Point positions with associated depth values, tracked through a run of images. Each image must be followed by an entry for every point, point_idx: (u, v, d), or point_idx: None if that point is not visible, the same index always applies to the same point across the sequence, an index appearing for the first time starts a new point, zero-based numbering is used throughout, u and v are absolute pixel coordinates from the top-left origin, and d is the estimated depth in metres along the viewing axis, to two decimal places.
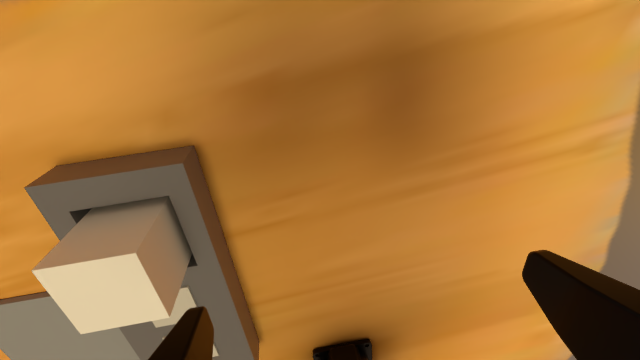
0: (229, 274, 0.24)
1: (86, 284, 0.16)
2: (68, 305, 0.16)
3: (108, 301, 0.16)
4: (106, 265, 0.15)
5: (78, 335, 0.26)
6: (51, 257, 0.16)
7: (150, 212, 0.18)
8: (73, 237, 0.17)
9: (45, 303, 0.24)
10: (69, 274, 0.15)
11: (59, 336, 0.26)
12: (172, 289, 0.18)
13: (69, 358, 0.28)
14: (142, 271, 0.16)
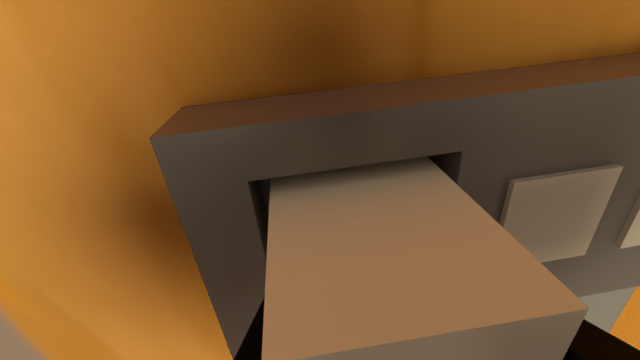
0: (526, 78, 0.09)
1: None
2: None
3: None
4: None
5: None
6: None
7: None
8: None
9: None
10: None
11: None
12: (485, 252, 0.06)
13: None
14: (347, 355, 0.04)
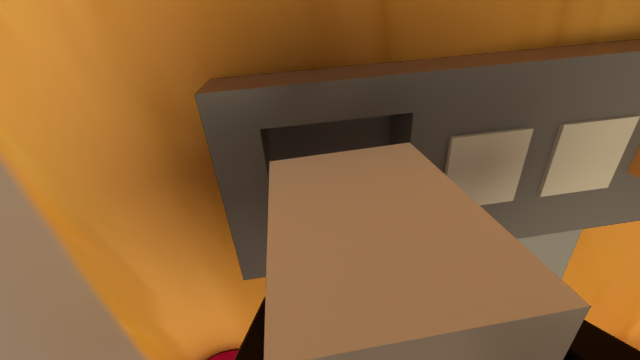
0: (463, 62, 0.12)
1: None
2: None
3: None
4: None
5: None
6: None
7: None
8: None
9: None
10: None
11: None
12: (486, 251, 0.06)
13: None
14: (350, 356, 0.04)
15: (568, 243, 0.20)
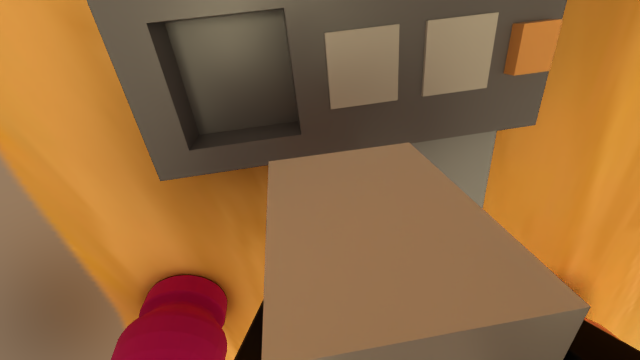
0: None
1: None
2: None
3: None
4: None
5: None
6: None
7: None
8: None
9: None
10: None
11: None
12: (485, 251, 0.06)
13: None
14: (349, 357, 0.04)
15: (482, 164, 0.22)
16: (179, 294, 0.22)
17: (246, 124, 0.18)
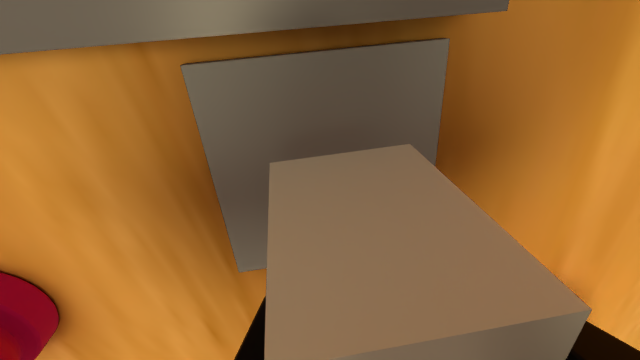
0: None
1: None
2: None
3: None
4: None
5: None
6: None
7: None
8: None
9: (226, 178, 0.14)
10: None
11: None
12: (486, 254, 0.06)
13: None
14: None
15: (429, 103, 0.14)
16: None
17: None
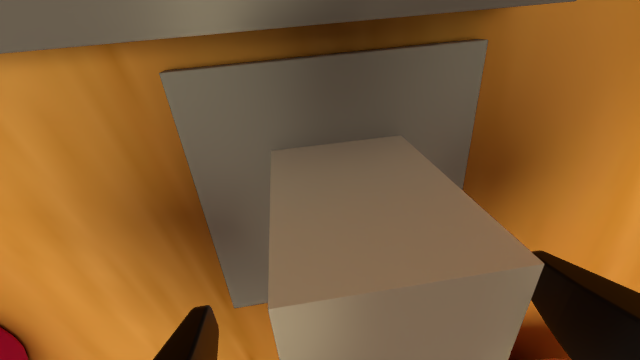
0: None
1: None
2: None
3: None
4: None
5: None
6: None
7: None
8: None
9: (218, 205, 0.12)
10: None
11: None
12: (461, 223, 0.07)
13: None
14: (341, 302, 0.05)
15: (459, 117, 0.12)
16: None
17: None
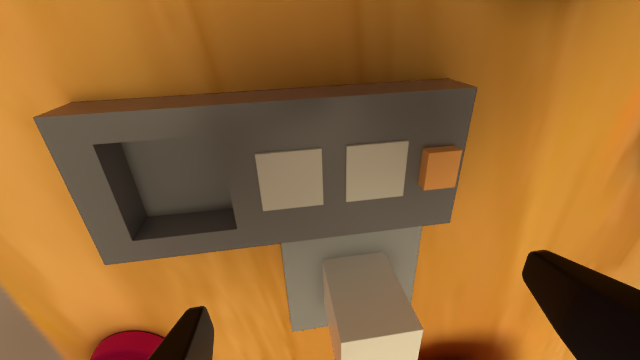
0: (265, 96, 0.16)
1: None
2: None
3: None
4: (348, 359, 0.18)
5: None
6: None
7: (329, 296, 0.21)
8: (334, 349, 0.21)
9: (294, 283, 0.24)
10: None
11: None
12: (401, 311, 0.19)
13: None
14: (362, 341, 0.17)
15: (412, 243, 0.24)
16: (125, 353, 0.23)
17: (192, 208, 0.20)
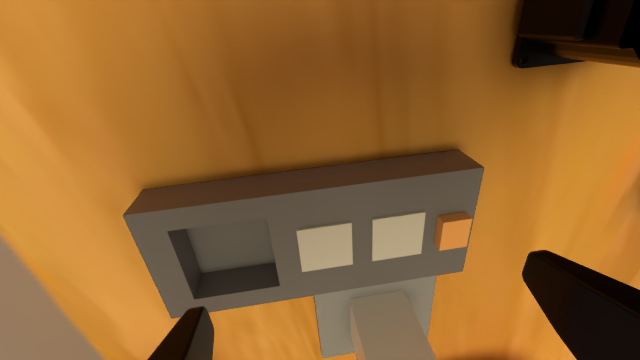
0: (303, 181, 0.19)
1: None
2: None
3: None
4: None
5: None
6: None
7: (358, 335, 0.24)
8: None
9: (324, 319, 0.27)
10: None
11: None
12: (422, 351, 0.22)
13: None
14: None
15: (428, 282, 0.27)
16: None
17: (239, 265, 0.23)
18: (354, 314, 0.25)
